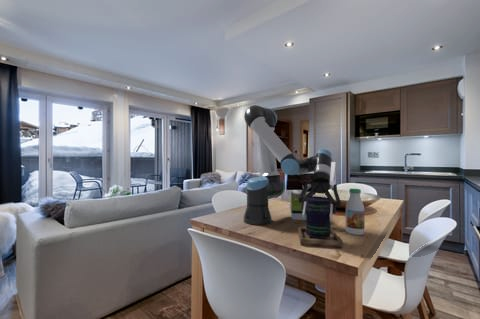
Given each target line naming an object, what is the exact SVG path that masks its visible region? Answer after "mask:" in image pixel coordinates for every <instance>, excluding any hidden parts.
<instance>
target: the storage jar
mask: <svg viewBox="0 0 480 319" xmlns="http://www.w3.org/2000/svg"><path fill="white" fill-rule="evenodd" d="M330 207H331V202H330V198H327V196H326V197H325V196H316V195H313V196H311V197H306V211H307V219H306V220H305V228H306V234H307V235H308V236H311V237H315V238H328V237H330V230H331V229H332V228H331V221H330Z"/></svg>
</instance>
